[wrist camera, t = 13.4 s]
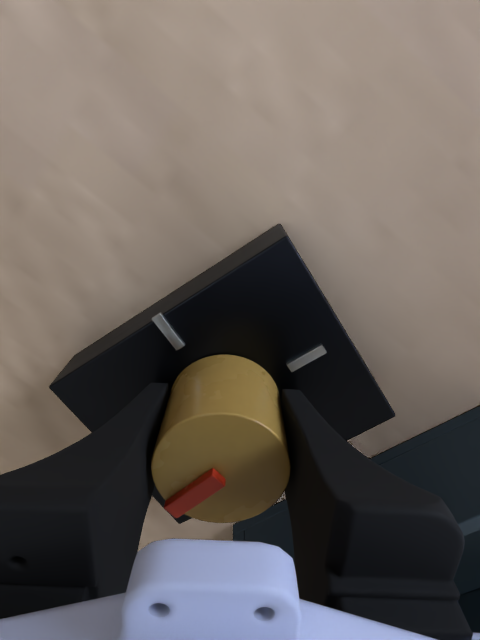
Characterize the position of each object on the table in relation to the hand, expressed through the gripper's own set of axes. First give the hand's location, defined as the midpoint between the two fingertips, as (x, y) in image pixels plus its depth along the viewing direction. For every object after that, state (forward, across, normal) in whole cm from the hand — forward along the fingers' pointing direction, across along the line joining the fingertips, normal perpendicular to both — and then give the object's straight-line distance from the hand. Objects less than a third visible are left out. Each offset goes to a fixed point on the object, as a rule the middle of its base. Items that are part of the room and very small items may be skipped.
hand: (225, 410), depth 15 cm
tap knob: (0, 0, 0) cm, 0 cm away
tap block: (+3, 0, 0) cm, 3 cm away
